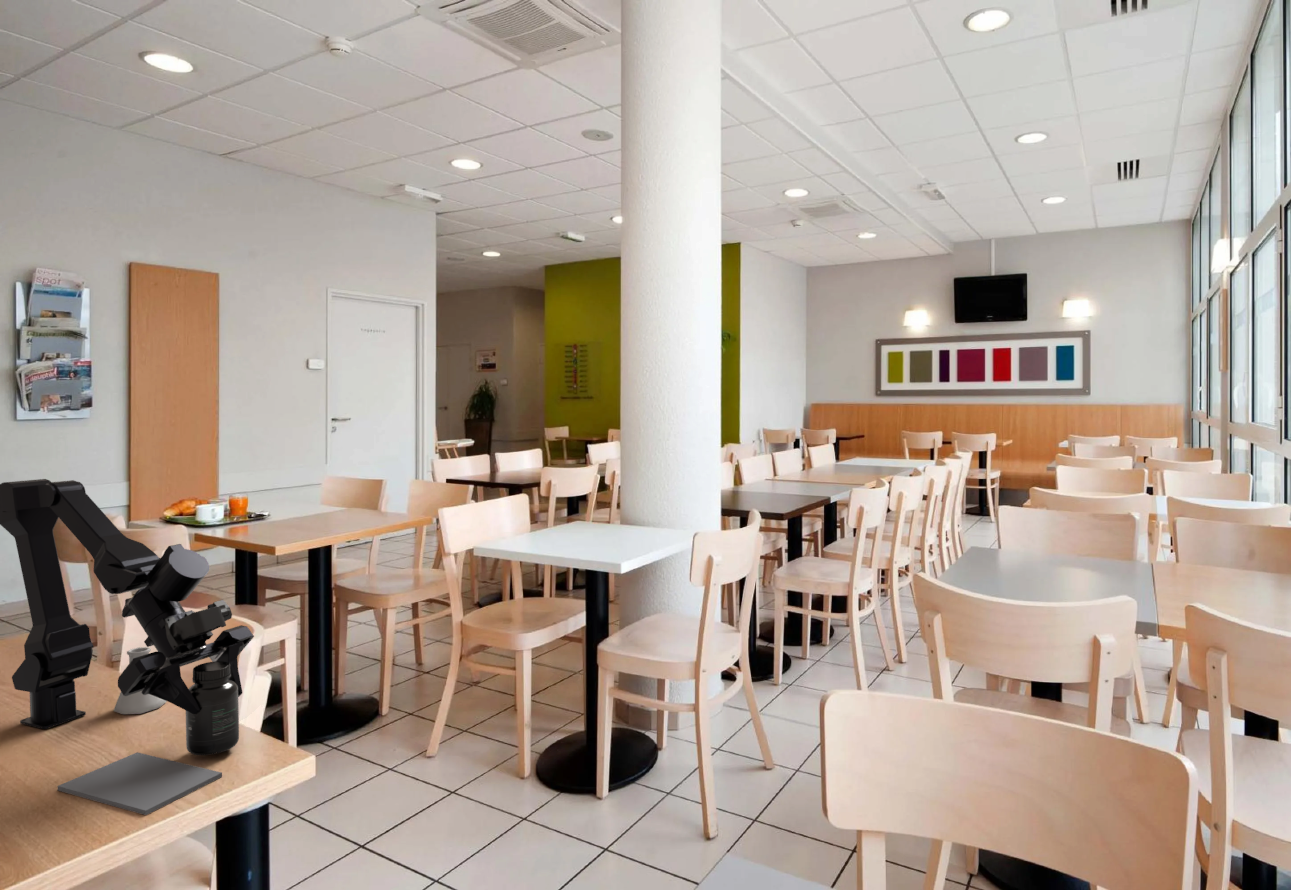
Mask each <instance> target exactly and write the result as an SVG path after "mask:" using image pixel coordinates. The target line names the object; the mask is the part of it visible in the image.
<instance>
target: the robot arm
mask: <svg viewBox="0 0 1291 890" xmlns="http://www.w3.org/2000/svg"><path fill="white" fill-rule="evenodd" d="M59 519H60V521H61V522H62V523H63V524H64V526H66V528H68V530H69V531H70V533H72V535H74V537H75V538H76V539H77V540H78V541H79V542H80V544H81V545H82V546H83V547H84V548H85V549H86V550H87V551H88V552H89V554H90V556H91V557H92V559H93V573H94V575H95V576H96V579H97V580H98V581H99V583H100V584H101V586H102V588H103V589H104V590H105V591H106V592H107V593H109V594H111V595H114V594H115V595H119V594H124V593H128V592H133V591H136V592H135V593H134V594H133V596H132V597H130V598H129V597H128V598H125V600H124V606H123V608H122V611H121V616H122V618H129V617H133V616H134V617H135V618H136V620H137V621H138V623H139V624H140V626H141V627H142V630H144V632H145V634H146V635H147V637H146V639H145V640H144V641H143V642H144V644H145V647H148V648H150V647H154V648H155V649H156V651H153V652H149V654H146V655H143V656H140V657H136V658H133V660H132V661H131V662H130V663H128V665H127V666H126V667H125V669H123V671H122V672H121V673H120V675H119V676H118V678H117V687H118V689H119V690H120V693H121V692H122V694H123V695H124V696H128V695H131V694H134V693H137V692H140V691H142V690H143V691H142V692H141V693H142V694H143V695H147V694H150V695H153V696H155V697H158V698H160V699H163V700H165V701H167V703H171V704H172V705H174V706H176V707H178V708H180V709H183V710H184V711H185V712H186V711H188V712H190V713H192V714H194V715H195V714H197V713H198V712H199V711H200V708H199V706H198V704H197V702H196V700H195V698H194V697H193V695H192V694H191V692H190V691H189V687H188V685H187V684H186V682H185V681H184V680H183V678H182V674H181V667H184V666H187V665H190V664H193V663H195V662H200V661H202V660H204V659H208V658H209V659H210V660H211V662H216V661H224V662H228V663H229V664H230V672H231V677H230V678H229V679H230V680H233V681H234V682H235V683H236V684H237V686H238V698H240V697H241V695H242V694H243V687H242V683H241V678H240V672H239V666H238V665H239V664H238V657H239V656H240V654H241V653H242V651H244V649H245V648H246V647H247V646H248V645H249V643H250V642H251V641H252V640H253V639H254V637H255V635H254V634H253V633H252V631H251V630H250V628H249V627H248V626H247V625H243V624H242V625H237V626H235V627H231V628H228V629H224V630H222V631H221V632H220V633H219V634H218V636H217V637H216V638H215V640H214V641H213V642H210V643H206V641H208V640H211V638H212V637H213V635H214V633H213V631H214V630H216V629H219V628H225V627H226V626H227V624H226V621H229V620H230V619H232V618H233V613H232V610H231V607H230V606H229V604H228V603H227V602H226V601H225V600H224V599H221V600H217V601H214V602H213V603H209V604H208V605H207V608H205V609H202V610H199V611H193V610H188V611H186V610H185V609H184V607H183V605H182V604H181V603H180V602H182V601H184V600H186V599H188V597H189V596H190V595H191V594H192V593H193V592H194V590H195V589H196V588H197V587H198V585H199V584H200V583H201V581H203V580H204V578H205V577H206V576H207V575H208V573H209V571H210V564H209V561H208V560H207V558H206V556H203V555H201V554H200V553H198V552H197V551H194V550H191V549H187V548H185V547H184V546H183V545H182V543H178V544H177V543H176V544H172V545H168V547H166V549H165V550H164V552H163V554H162V556H161V557H159V556H158V554H157V553H155V552H154V551H153V550H151V549H150V548H149V547H148V546H147V545H145V544H144V543H143V542H140V541H137V540H134V539H133V538H129V537H127V536H126V535H124V534H123V533H122V532H121V530H120V529H119V528H117V526H116V525H115V524H114V523H113V522H112V521H111V520H110V519H109V517H108V516H107V515H106V514H105V513H104V512H103V511H102V510H101V508H100V507H99V506H98V505H97V504H96V503H95V501H93V499H91V497H90V496H89V495H88V494H87V492H86V489H85V486H84V485H83V483H82V482H80V481H76V480H74V479H73V480H62V481H51V480H49V479H46V478H42V479H41V478H40V479H27V480H17V481H15V480H14V481H8V482H7V481H5V482H4V481H3V482H1V483H0V526H1V527H2V528H3V529H4V530H5V531H6V532H8V534H10V535H11V536H12V537H13V539H14V541H15V545H16V549H17V553H18V560H19V564H20V568H21V569H20V570H21V574H22V579H23V585H24V589H25V593H26V599H27V603H28V608H29V613H30V618H31V623H32V627H31V629H30V631H29V634H28V636H27V637H26V640H25V642H24V645H23V648H24V649H23V650H24V660H23V661H22V662H21V664H20V665H19V667H18V668H17V669H16V670H15V672H14V673H13V674H12V676H11V680H12V683H13V687H14V690H18V691H22V692H29V708H30V709H29V711H30V712H29V713H30V716H29V717H26V718H22V719H21V720H20V721H19V723H20V725H21V724H22V725H25V726H29V727H34V728H37V729H42V730H48V729H51V728H52V727H55V726H59V725H61V724H64V723H67V722H69V721H72V720H76V719H79V718H81V717H83V716H85V715H87V713H86V711H83V710H80V709H77V697H76V695H77V693H76V683H75V682H76V681H75V680H76V679H79V678H82V677H86V676H88V674H89V670H90V666H91V662H92V659H93V651H94V650H93V648H94V647H95V646H94V644H93V642H92V640H91V633H90V627H89V626H88V624H86V623H84V624H80V623H79V622H77V621H76V620H75V619H74V618H73V617H72V616H71V613H70V606H69V602H68V597H67V593H66V589H65V583H64V579H63V574H62V569H61V568H62V567H61V565H60V563H61V562H60V559H59V558H60V557H59V554H58V549H57V545H56V539H55V535H54V530H55V526H56V525H57V522H58V520H59Z"/></svg>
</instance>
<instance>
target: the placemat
mask: <svg viewBox="0 0 1291 890" xmlns="http://www.w3.org/2000/svg"><path fill="white" fill-rule="evenodd" d="M220 778H223V772H221V771H217V770H213V769H209V768H204V767H200V766H197V765H192V764H188V763H184V762H179V761H175V760H171V759H167V758H162V757H158V756H156V755H154V756H153V755H150V754H146V753H141V752H139V751H137V752H134V753H132V754H129V755H127V756H125V757H123V758H120V759H118V760H116V761H113V762H111V763H108V764H106V765H105V766H104V765H103V766H101V767H99V768H97V769H94V770H92V771H89V772H88V773H85V774H83V775H80V776H78V777H75V778H72V779H71V780H68V781H66V782H64V783H61V784H59V785H57V787H56V788H57V791H59V792H61V793H62V792H63V793H66V794H69V795H71V796H72V795H73V796H76V797H80V798H83V799H87V800H90V801H94V802H98V803H101V804H105V805H109V806H112V807H114V808H119V809H122V810H126V811H130V812H134V813H137V814H139V815H140V814H141V815H144V816H147V815H149V814H151V813H153V812H155V811H158V810H159V809H161V808H163V807H165V806H167V805H168V804H169V805H170V804H171V803H173V802H175V801H177V800H179V799H181V798H183V797H185V796H187V795H189V794H191V793H193V792H195V791H197V790H198V789H201V788H202V787H205V786H206V785H208V784H211V783H212V782H215V781H216V780H218V779H219V780H220Z"/></svg>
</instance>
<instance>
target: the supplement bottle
mask: <svg viewBox="0 0 1291 890" xmlns="http://www.w3.org/2000/svg"><path fill="white" fill-rule="evenodd" d="M230 677H231V672H230V664H229V663H228V662H224V661H216V662H212V661H208V662H204V663H200V664H198V665H195V667H194V666H193V669H192V683H194V684H192V685H191V686H190V687H188V689H189V691H190V692H191V694H192V695H193V697H194V698H195V700H196V702H197V704H198V706H199V708H200V711H199V712H198V713H197V714H195V715H194V714H192V713H190V712H188V711H186V710H185V740H186V741H185V743H186V744H185V745H186V750H187V752H188V753H189V754H192V755H195V756H211V755H216V754H220V753H224V752H226V751H229V750H231V749H232V748H234V747H236V746H237V744H238V742H239V739H240V724H239V723H240V720H239V718H240V717H239V715H240V712H239V697H238V686H237V684H236V683H235V682H234V681H233V680H230V679H229V678H230Z"/></svg>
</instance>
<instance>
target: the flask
mask: <svg viewBox="0 0 1291 890" xmlns="http://www.w3.org/2000/svg"><path fill="white" fill-rule="evenodd" d="M151 649H152V648H151V647H147V646H144V647H143V646H140V647H136V648H130V649H129V650H127V651H126V654H127V656H128V661H129V663H130V662H131V661H132V660H133V658H136V657H140V656H143V655H146V654H149V653H151V652H152V650H151ZM129 663H128V664H129ZM142 691H143V690H142ZM142 691H140V692H137V693H134V694H131V695H128V696H124V695H123V694H122V692H121V691H120V693H119V696H118V698H117V700H116V703H115V705H114V708H113V712H115V713H117V714H121V715H137V714H138V715H139V714H144V713H147V712H151V711H153V710H156V709H160V708H161V707H162V706H163V705H165V704H166V703H168V701H165V700H163V699H160V698H158V697H155V696H153V695H150V694H147V695H143V694H142V693H141V692H142Z"/></svg>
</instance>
